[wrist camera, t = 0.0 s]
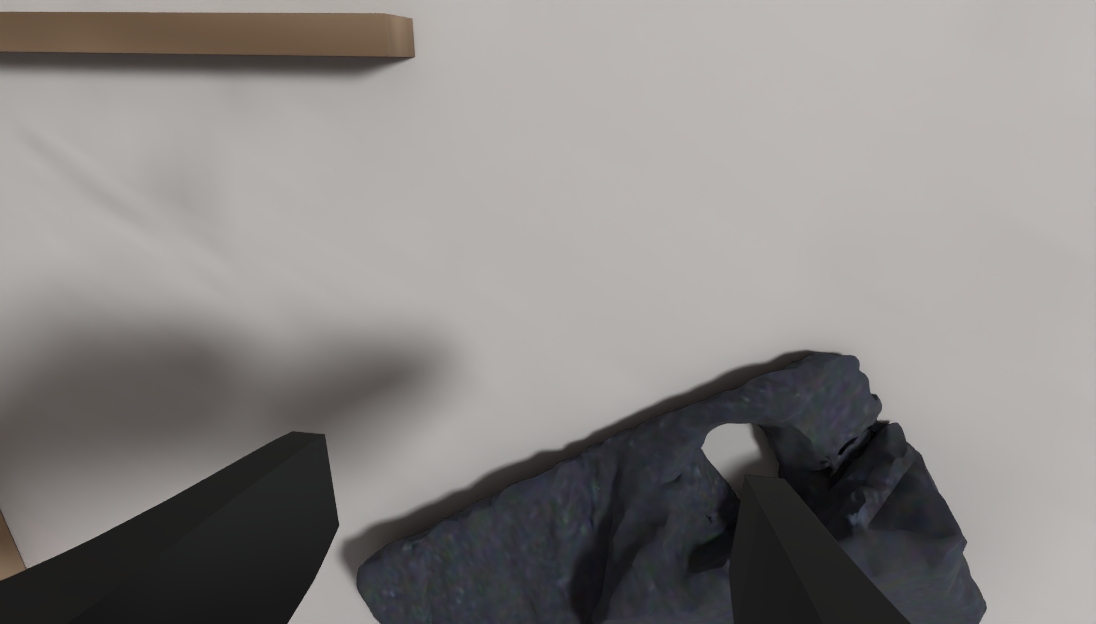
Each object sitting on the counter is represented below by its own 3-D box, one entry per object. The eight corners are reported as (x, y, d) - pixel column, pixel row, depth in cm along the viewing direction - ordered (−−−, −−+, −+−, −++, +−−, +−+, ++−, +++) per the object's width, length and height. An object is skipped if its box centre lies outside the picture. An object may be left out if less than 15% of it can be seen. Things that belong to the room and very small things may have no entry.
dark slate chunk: (329, 492, 25) (264, 584, 21) (880, 316, 19) (953, 393, 14) (491, 727, 30) (466, 842, 25) (976, 647, 23) (1053, 780, 19)
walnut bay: (468, 831, 32) (458, 877, 31) (99, 766, 35) (69, 805, 33) (412, 18, 17) (385, 13, 15) (-243, 15, 20) (-334, 10, 18)
